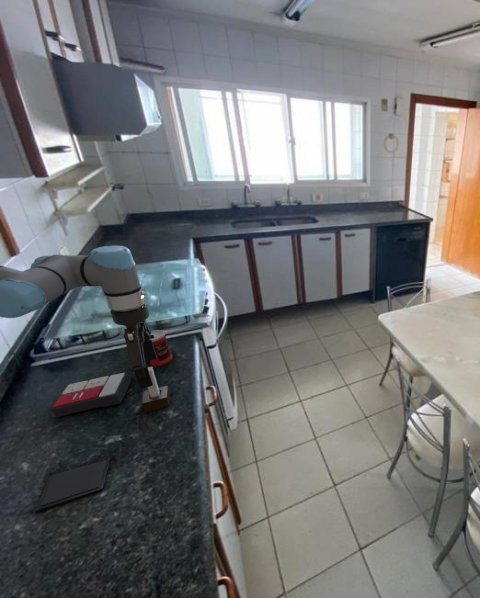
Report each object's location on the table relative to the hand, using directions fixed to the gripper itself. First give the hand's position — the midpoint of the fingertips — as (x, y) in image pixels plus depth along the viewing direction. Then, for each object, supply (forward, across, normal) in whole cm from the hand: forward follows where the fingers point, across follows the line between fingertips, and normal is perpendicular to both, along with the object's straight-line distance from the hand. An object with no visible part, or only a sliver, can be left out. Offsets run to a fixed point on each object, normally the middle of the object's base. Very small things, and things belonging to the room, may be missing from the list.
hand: (149, 372), depth 94 cm
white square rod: (+12, 0, 0) cm, 12 cm away
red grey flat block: (+12, +10, +16) cm, 22 cm away
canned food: (+12, +24, +1) cm, 27 cm away
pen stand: (+12, 0, 0) cm, 12 cm away
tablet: (+12, -22, +14) cm, 29 cm away
